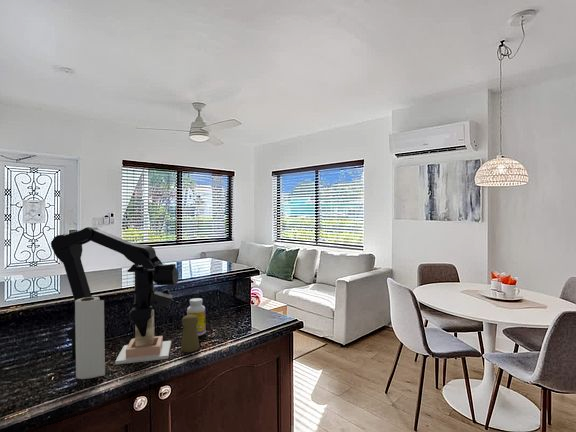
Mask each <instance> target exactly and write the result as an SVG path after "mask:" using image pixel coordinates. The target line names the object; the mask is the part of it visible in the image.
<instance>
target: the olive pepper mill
mask: <svg viewBox="0 0 576 432" xmlns="http://www.w3.org/2000/svg"><path fill="white" fill-rule="evenodd" d="M197 323H198V318H197V316H196V315H187V314H186V315H184V316H183V317H182V319H181V324H182V326H183V330H182V339H181V345H180V347H181V348H180V351H182V352H183V353H192V352H196V351H198V350H200V341H199V340H200V339H199V336H198V333H197V326H196V325H197Z"/></svg>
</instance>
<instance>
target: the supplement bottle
mask: <svg viewBox="0 0 576 432" xmlns="http://www.w3.org/2000/svg"><path fill="white" fill-rule="evenodd" d="M186 315H196V316H197V318H198V323H197V325H196V326H197V333H198V337H200V336H203V335H205V334H206V328H207V327H206V326H207V325H206V324H207V323H206V306H205V305H203V298H199V297H197V298H190V299H189V306H188V307H187V308H186Z"/></svg>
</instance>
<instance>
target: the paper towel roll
mask: <svg viewBox="0 0 576 432" xmlns="http://www.w3.org/2000/svg"><path fill="white" fill-rule="evenodd" d="M104 313H105V299H100V297H98V296H92V297H87V298H81V299H77V300H74V315H75V319H74V326H75V335H76V358H75V377H76V379H78V380H86V379H93V378H98V377H102V376H106V362H105V360H106V357H105V356H106V355H105V354H106V353H105V351H106V350H105V315H104Z"/></svg>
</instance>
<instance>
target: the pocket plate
mask: <svg viewBox="0 0 576 432" xmlns="http://www.w3.org/2000/svg"><path fill="white" fill-rule="evenodd" d="M171 346H172V340H164V337H163V335H157V336H156V335H154V342H153V345H147V346H137V347H135V337H134V338H131V339H130V341H129V343H128V344H126V345H125V344H124V345H123V347H122V349H121V350H120V352H119V354H118V356H116V357H117V358H116V360H115V361H114V364H115V365H123V364H132V363H133V364H134V363H139V362H140V363H141V362H142V363H143V362H149V361H150V362H151V361H152V362H153V361H160V360H167V359H169V357H170V351H171Z"/></svg>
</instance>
